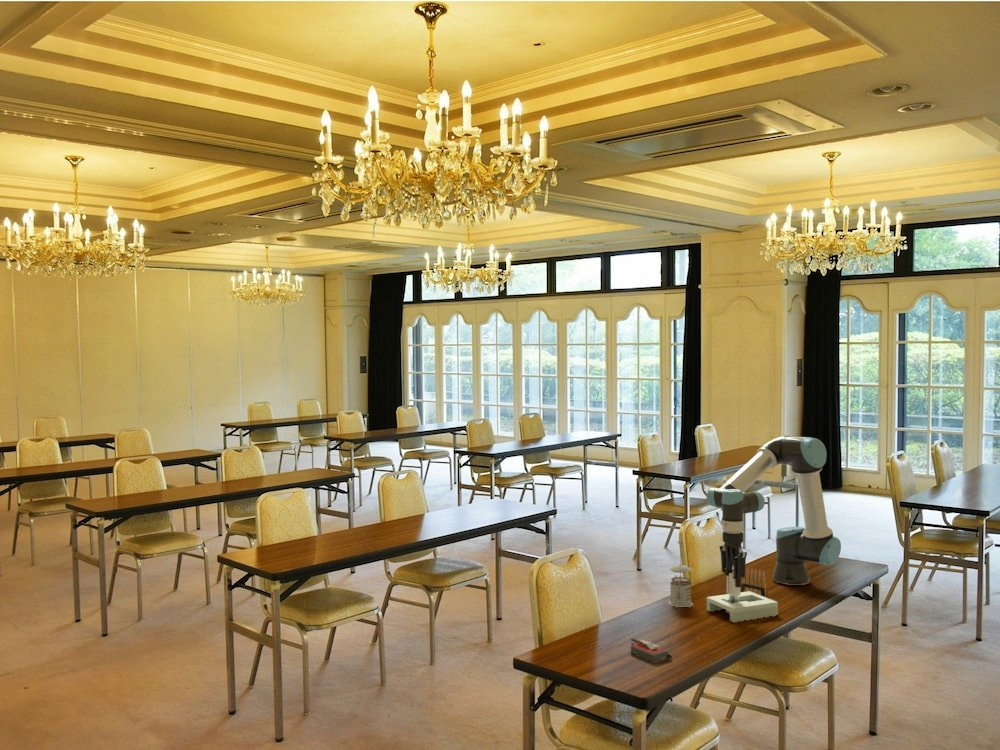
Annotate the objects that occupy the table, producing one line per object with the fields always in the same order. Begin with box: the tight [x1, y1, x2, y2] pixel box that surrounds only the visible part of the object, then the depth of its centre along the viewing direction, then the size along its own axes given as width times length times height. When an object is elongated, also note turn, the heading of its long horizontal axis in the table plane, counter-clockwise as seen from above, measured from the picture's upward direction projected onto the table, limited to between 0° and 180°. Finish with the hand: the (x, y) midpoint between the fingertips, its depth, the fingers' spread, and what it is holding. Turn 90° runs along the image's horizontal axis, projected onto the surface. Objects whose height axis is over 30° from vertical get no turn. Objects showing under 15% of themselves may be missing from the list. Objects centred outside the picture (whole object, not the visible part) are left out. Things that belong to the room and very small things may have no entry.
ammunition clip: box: [740, 566, 768, 598], centre depth 325 cm, size 11×2×12 cm, turn 42°
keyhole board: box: [706, 591, 779, 623], centre depth 306 cm, size 20×16×5 cm
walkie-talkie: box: [630, 637, 673, 663], centre depth 265 cm, size 9×4×20 cm
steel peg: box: [725, 571, 737, 616], centre depth 304 cm, size 6×6×15 cm
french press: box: [667, 539, 694, 608], centre depth 317 cm, size 10×12×25 cm
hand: (733, 594), depth 304 cm, fingers closed on steel peg, 3 cm apart
